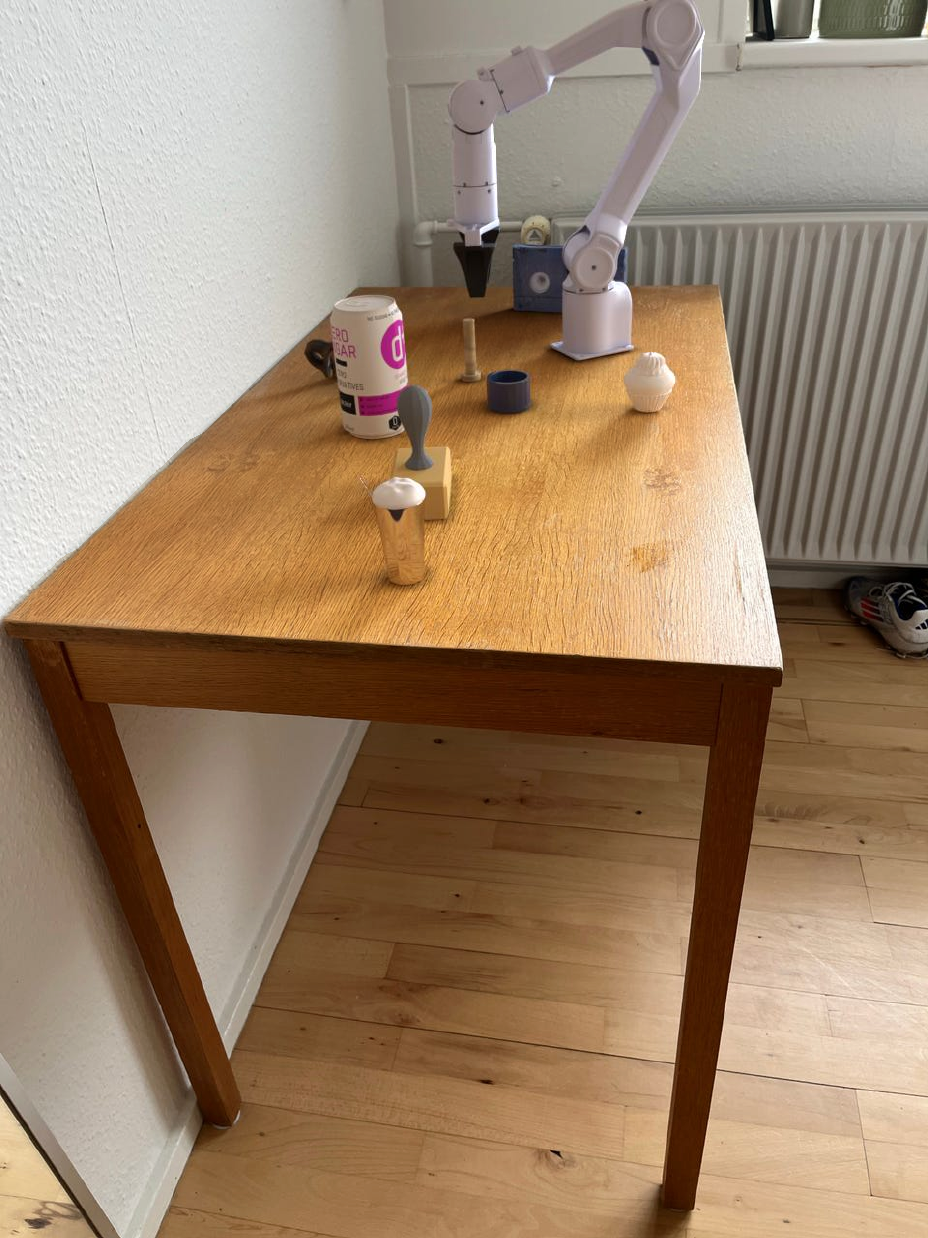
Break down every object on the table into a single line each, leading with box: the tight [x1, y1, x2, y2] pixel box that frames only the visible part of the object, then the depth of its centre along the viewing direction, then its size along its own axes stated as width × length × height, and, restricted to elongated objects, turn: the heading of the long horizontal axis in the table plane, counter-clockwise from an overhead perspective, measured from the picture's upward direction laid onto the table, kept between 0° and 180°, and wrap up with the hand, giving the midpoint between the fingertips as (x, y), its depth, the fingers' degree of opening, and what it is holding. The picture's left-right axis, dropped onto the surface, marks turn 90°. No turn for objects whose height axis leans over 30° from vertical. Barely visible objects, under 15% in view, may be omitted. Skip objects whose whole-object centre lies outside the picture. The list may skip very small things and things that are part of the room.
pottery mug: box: [303, 338, 337, 379], centre depth 129 cm, size 12×10×8 cm
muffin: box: [623, 351, 676, 414], centre depth 115 cm, size 6×6×7 cm
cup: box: [485, 369, 532, 415], centre depth 119 cm, size 5×5×4 cm
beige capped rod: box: [461, 317, 482, 383], centre depth 128 cm, size 3×3×8 cm
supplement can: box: [329, 294, 409, 440], centre depth 112 cm, size 8×8×15 cm
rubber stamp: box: [389, 384, 453, 521], centre depth 96 cm, size 10×6×12 cm, turn 179°
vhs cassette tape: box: [512, 243, 629, 313], centre depth 153 cm, size 18×3×10 cm, turn 69°
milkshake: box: [359, 475, 426, 586], centre depth 83 cm, size 4×5×10 cm
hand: (479, 289), depth 133 cm, fingers open, 7 cm apart
